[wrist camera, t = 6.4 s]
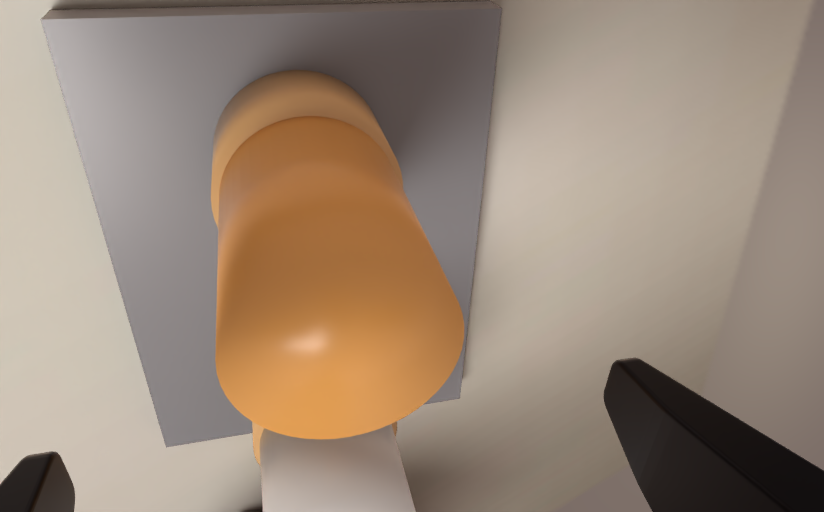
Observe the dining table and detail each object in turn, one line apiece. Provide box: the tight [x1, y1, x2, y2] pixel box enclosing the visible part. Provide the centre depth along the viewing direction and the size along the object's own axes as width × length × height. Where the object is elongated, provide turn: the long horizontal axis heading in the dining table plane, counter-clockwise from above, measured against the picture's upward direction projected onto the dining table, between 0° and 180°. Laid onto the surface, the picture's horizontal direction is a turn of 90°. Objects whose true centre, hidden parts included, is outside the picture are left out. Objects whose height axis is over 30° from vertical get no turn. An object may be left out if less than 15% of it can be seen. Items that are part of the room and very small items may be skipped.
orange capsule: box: [215, 116, 464, 439], centre depth 14 cm, size 5×5×6 cm
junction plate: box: [41, 1, 502, 512], centre depth 18 cm, size 16×12×8 cm
